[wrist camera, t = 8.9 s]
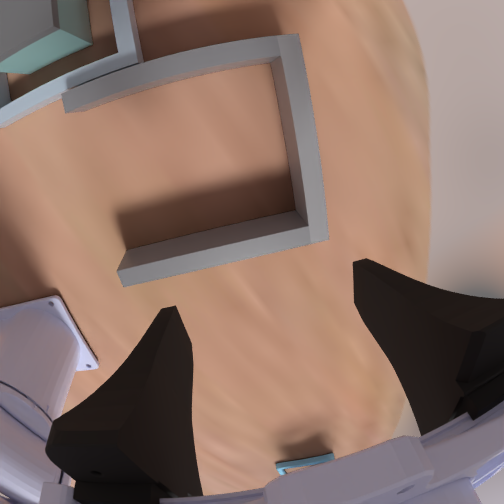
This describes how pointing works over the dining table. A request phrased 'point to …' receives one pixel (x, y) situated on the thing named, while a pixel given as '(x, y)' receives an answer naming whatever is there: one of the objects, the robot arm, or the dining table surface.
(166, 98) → the dining table surface
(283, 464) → the chair
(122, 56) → the blue-grey square frame
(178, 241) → the bay
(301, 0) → the dining table surface
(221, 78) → the dining table surface
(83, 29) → the grey block
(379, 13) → the dining table surface
